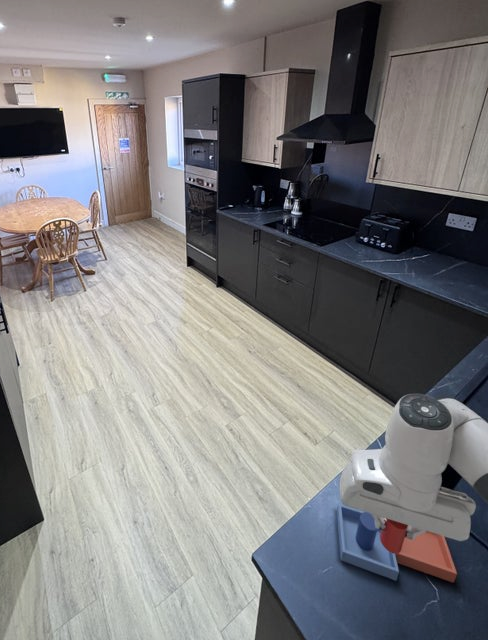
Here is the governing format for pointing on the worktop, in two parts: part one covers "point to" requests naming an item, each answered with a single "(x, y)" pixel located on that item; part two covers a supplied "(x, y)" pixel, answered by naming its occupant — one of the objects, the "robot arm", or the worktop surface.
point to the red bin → (428, 556)
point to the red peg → (393, 536)
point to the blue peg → (366, 531)
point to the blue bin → (354, 554)
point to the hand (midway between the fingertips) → (393, 530)
